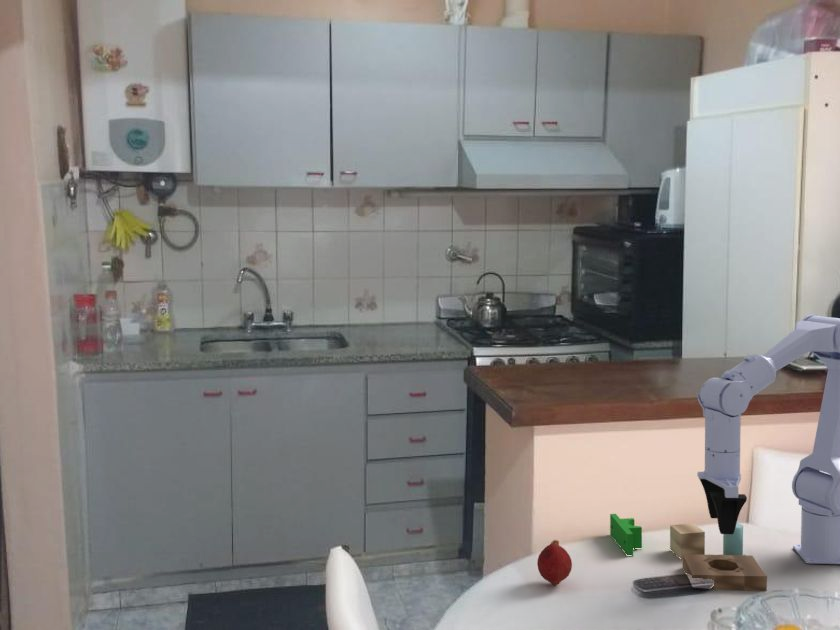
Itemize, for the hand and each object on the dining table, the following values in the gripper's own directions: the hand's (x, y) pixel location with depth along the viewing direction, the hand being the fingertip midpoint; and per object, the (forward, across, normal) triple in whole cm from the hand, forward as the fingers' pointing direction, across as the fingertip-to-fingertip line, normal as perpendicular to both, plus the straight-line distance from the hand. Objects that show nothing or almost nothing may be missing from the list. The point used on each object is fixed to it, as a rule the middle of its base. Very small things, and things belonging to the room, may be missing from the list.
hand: (721, 525), depth 147 cm
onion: (+10, +5, -29) cm, 31 cm away
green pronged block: (+10, -14, -14) cm, 22 cm away
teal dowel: (+9, -10, +4) cm, 14 cm away
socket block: (+9, 0, 0) cm, 9 cm away
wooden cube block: (+10, -11, -4) cm, 15 cm away
